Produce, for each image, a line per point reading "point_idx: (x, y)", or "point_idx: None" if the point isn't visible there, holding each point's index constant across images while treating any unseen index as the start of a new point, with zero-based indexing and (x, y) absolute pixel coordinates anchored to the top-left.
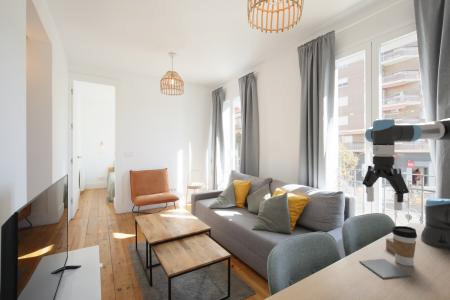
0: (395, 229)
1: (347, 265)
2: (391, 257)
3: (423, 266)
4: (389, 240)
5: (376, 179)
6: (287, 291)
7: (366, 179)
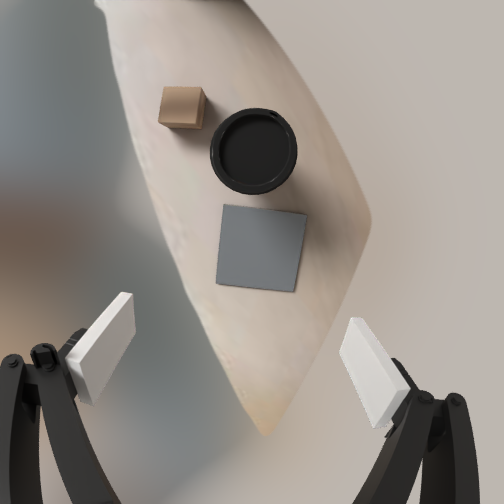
0: (243, 191)
1: (221, 320)
2: None
3: None
4: (171, 122)
5: (98, 469)
6: (262, 434)
7: (38, 445)
